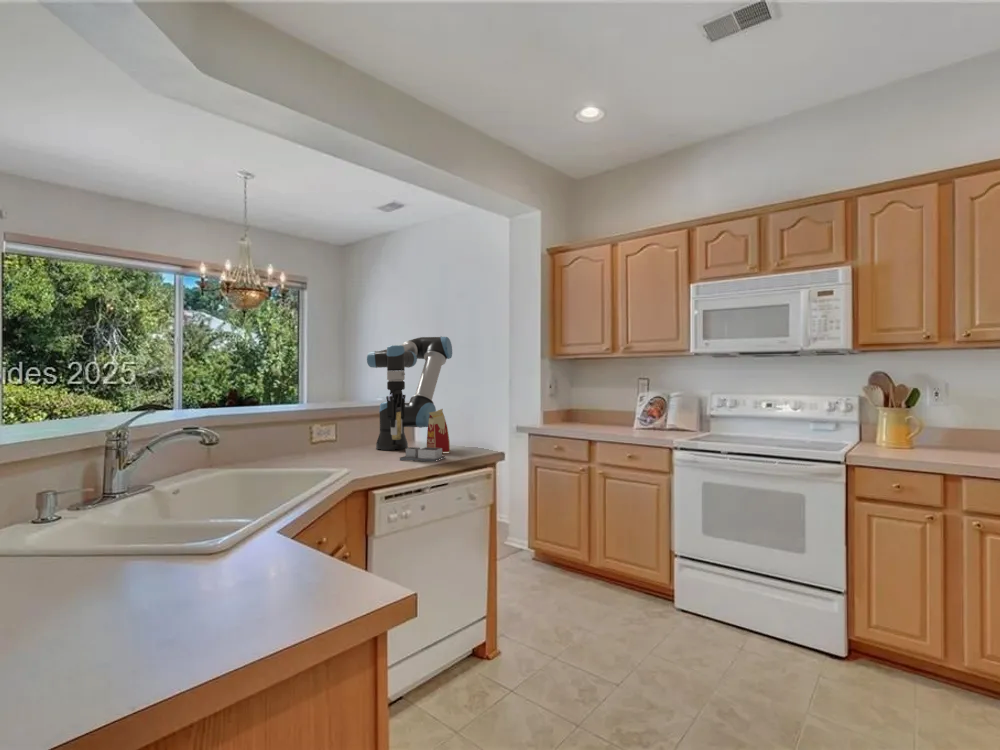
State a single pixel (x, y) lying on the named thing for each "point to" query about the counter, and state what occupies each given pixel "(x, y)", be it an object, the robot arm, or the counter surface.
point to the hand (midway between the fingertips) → (396, 434)
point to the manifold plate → (423, 454)
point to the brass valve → (398, 424)
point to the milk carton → (438, 431)
